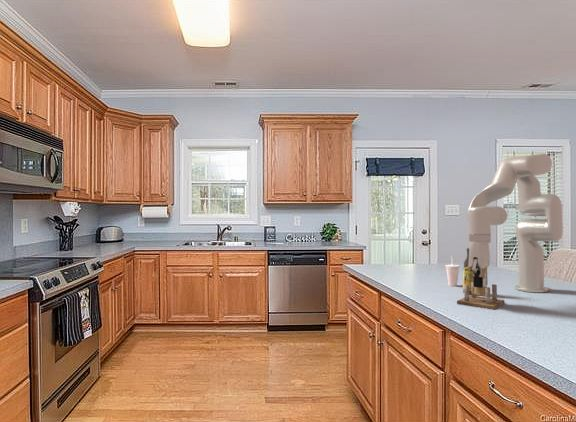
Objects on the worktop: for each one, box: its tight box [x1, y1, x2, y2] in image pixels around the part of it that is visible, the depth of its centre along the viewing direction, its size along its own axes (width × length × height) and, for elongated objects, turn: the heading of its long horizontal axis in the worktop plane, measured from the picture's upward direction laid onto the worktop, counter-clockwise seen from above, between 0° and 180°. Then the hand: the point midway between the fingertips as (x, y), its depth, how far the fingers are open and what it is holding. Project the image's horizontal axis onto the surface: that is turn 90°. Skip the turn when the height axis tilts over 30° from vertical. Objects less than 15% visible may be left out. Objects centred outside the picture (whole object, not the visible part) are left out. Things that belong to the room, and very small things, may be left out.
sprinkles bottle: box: [474, 263, 488, 296], centre depth 147 cm, size 5×5×14 cm
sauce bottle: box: [462, 247, 473, 296], centre depth 164 cm, size 6×6×20 cm
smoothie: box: [444, 255, 461, 287], centre depth 183 cm, size 6×6×14 cm
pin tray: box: [456, 282, 506, 311], centre depth 147 cm, size 13×13×7 cm
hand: (480, 285), depth 147 cm, fingers closed on sprinkles bottle, 4 cm apart
